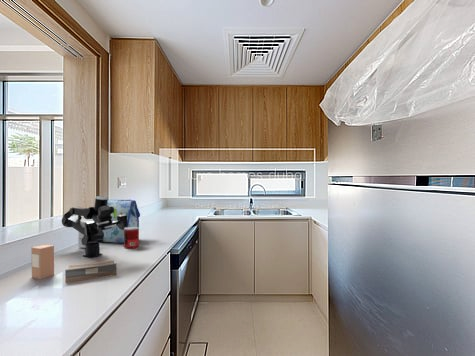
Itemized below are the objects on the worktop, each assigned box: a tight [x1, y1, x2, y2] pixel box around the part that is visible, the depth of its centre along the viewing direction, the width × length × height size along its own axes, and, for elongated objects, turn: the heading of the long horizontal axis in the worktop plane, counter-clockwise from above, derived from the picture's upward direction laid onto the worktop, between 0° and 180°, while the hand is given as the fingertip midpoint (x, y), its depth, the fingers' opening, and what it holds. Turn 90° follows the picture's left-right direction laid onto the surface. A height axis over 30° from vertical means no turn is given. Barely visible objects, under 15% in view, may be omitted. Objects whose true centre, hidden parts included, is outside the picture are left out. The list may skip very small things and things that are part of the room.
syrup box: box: [77, 220, 92, 249], centre depth 169 cm, size 6×6×14 cm
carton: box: [30, 244, 55, 280], centre depth 119 cm, size 6×6×12 cm
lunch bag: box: [102, 199, 141, 244], centre depth 185 cm, size 22×17×26 cm
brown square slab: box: [64, 259, 117, 283], centre depth 123 cm, size 18×18×4 cm
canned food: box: [123, 226, 140, 249], centre depth 168 cm, size 8×8×11 cm
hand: (113, 231), depth 132 cm, fingers open, 9 cm apart
